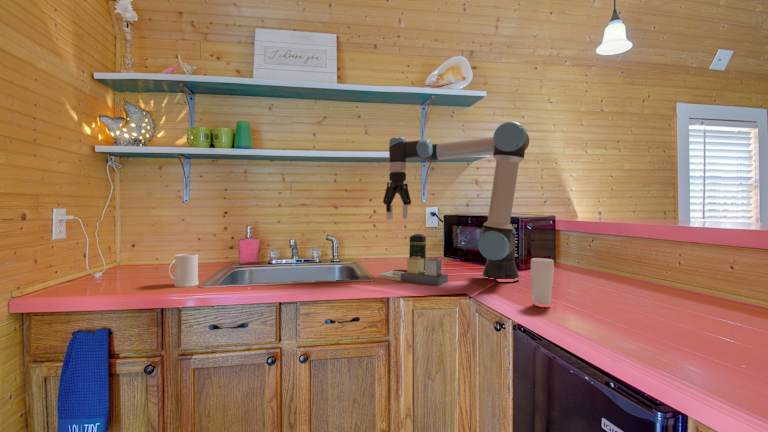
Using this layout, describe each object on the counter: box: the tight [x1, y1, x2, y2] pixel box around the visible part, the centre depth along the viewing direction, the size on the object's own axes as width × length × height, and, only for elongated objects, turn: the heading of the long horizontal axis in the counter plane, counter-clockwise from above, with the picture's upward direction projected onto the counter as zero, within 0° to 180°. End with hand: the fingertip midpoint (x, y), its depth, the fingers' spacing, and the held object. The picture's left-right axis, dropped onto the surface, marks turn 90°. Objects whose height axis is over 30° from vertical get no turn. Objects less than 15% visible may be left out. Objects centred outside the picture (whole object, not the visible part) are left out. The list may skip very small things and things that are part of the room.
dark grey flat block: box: [400, 271, 449, 287], centre depth 151 cm, size 17×9×4 cm, turn 57°
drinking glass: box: [530, 257, 555, 304], centre depth 117 cm, size 7×7×15 cm
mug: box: [167, 253, 200, 288], centre depth 144 cm, size 12×8×12 cm
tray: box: [378, 270, 405, 281], centre depth 160 cm, size 9×11×2 cm
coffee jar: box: [408, 233, 427, 271], centre depth 177 cm, size 10×8×19 cm
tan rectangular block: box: [406, 256, 424, 275], centre depth 153 cm, size 5×5×10 cm
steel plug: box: [425, 257, 443, 277], centre depth 149 cm, size 5×5×10 cm
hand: (397, 219), depth 168 cm, fingers open, 13 cm apart
